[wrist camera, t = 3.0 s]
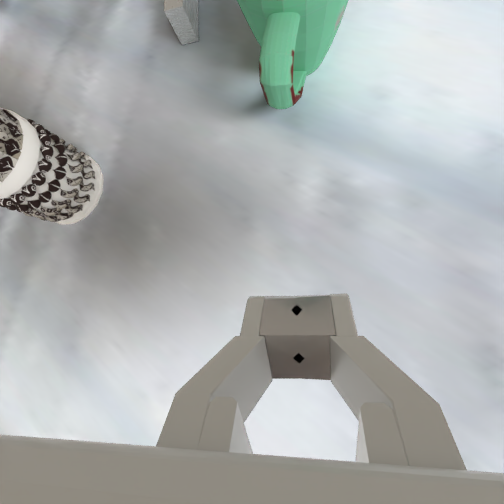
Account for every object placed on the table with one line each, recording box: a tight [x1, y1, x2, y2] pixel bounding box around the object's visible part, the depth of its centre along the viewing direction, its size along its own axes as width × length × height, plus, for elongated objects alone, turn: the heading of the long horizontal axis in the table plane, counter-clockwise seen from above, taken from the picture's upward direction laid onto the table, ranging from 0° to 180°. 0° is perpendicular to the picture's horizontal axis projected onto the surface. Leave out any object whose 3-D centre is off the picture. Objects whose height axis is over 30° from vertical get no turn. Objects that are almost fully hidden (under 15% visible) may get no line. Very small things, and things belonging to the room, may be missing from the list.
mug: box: [237, 0, 348, 109], centre depth 24 cm, size 15×10×10 cm
